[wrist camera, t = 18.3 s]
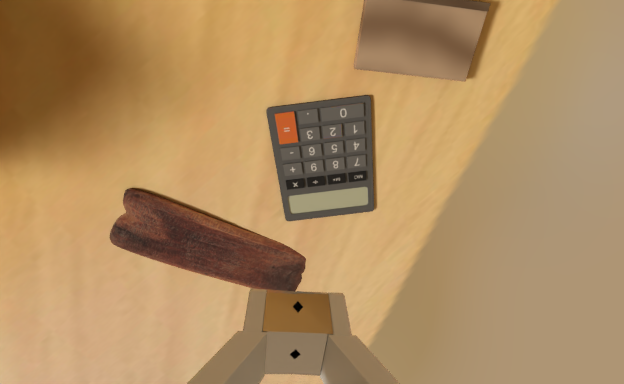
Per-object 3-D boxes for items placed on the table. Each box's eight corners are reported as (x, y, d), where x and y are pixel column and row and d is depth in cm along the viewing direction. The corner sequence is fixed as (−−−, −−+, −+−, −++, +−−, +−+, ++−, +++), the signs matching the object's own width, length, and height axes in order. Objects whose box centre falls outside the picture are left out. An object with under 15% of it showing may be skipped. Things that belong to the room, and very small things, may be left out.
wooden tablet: (318, 260, 46) (287, 313, 49) (316, 252, 48) (286, 302, 51) (123, 184, 39) (100, 250, 42) (131, 178, 41) (108, 241, 44)
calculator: (370, 95, 36) (374, 211, 43) (369, 93, 37) (372, 208, 44) (265, 108, 36) (286, 222, 43) (266, 106, 37) (286, 218, 44)
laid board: (460, 79, 36) (465, 81, 35) (353, 67, 35) (355, 69, 34) (483, 3, 33) (490, 3, 31) (366, -13, 32) (369, -14, 30)
